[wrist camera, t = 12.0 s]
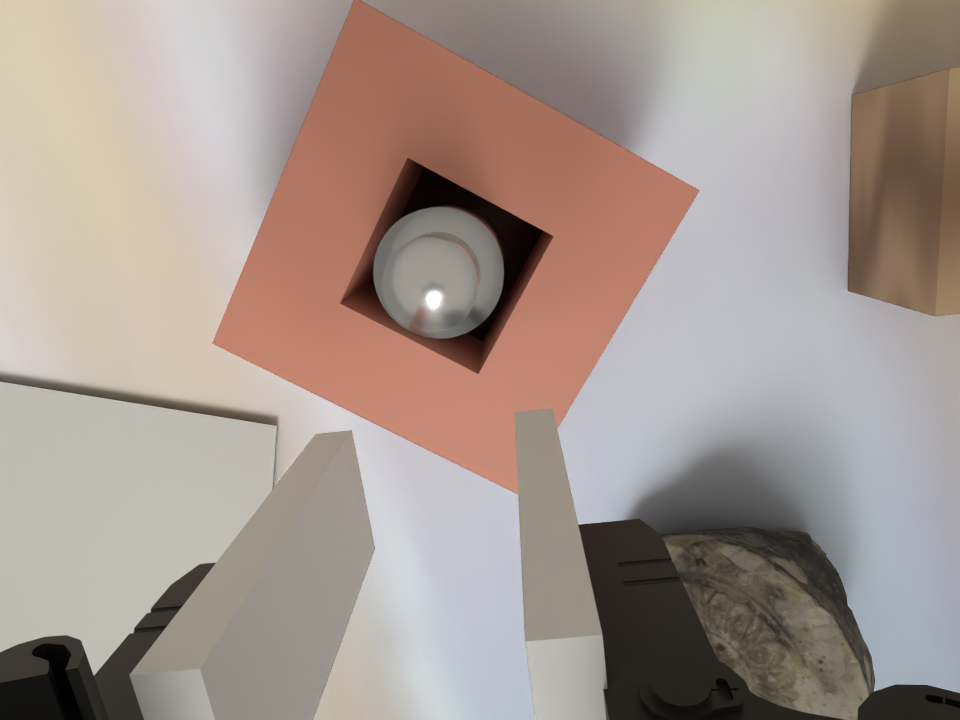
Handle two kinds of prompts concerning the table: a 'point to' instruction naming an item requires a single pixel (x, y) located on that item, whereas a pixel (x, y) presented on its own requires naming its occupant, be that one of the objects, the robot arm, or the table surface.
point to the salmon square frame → (379, 205)
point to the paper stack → (114, 508)
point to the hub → (450, 260)
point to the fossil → (777, 617)
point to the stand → (907, 194)
